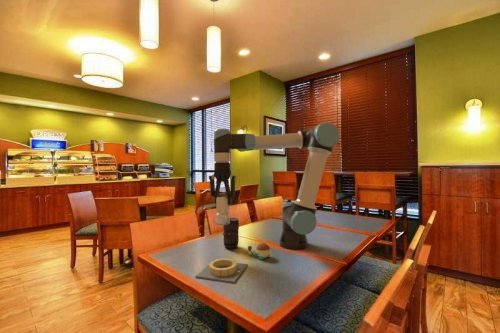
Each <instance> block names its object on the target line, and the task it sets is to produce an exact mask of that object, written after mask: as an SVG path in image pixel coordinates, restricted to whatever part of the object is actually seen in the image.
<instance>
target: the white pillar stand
mask: <svg viewBox="0 0 500 333" xmlns="http://www.w3.org/2000/svg"><path fill="white" fill-rule="evenodd" d="M226 197H227V194H226V191H225V192H224V191H223V192H221V193H220V192H219V194H217V212H215V217H216V218H215V223H216V225H217V226H223V225H228V224H230V218H231V217H230V216H231V213H230V211H229V212H226Z"/></svg>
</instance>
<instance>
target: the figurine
mask: <svg viewBox="0 0 500 333" xmlns="http://www.w3.org/2000/svg"><path fill="white" fill-rule="evenodd" d="M252 249H253V247H252V246H251V245H248V246H247V250H248V254H249V257H252V256H253V255H256V256H258V259H259V260H261V261H262V260H264V259H266V258H269V257H271V256H270V255H271V248H270V246H269V244H267V243H265V242H262V243H258V245H257V246H256V248H255V250H254V251H252Z"/></svg>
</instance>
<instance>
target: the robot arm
mask: <svg viewBox="0 0 500 333" xmlns="http://www.w3.org/2000/svg"><path fill="white" fill-rule="evenodd" d="M230 131H231V130H230V129H228V128H218V129H215V130H214V133H213V153H214V156H213V159H214V160H213V162H214V164H213V166H214V170H213V171H214V172H213V174H211V175H208V179H209V187H210V189H209V190H210V197H213V198H214V205H215V206H216V208H215V209H216V211H215V213H217V194H220V189H221V185H222V183H223V184H224V189H225V192H226V194H227V195H226V196H227V197H226V212H230V206H231V205H232V198H233V197H235V196H236V180H237V175H234V174H232V172H231V163H230V162H231V150H237V151H238V152H241V153H244V152H249V151H261V150H272V149H273V150H275V149H277V150H278V149H286V148H298V149H300V150H301V149H303V150H304V149H307V150H308V152H309V153H308V156H307V160H306V164H305V168H304V172H303V175H302V179H301V181H300V182H301V183H300V187H299V190H298V194H297V198H296V200H294V201H292V202H287V201H285V202H283V203H282V206H281V207H282V208H281V209H282V210H281V211H282V212H281V214H282V215H281V217H282V218H281V220H282V222H281V223H282V230H281V234H280V237H279V246H280V247H282V248H286V249H288V250H303V249H306V248H307V247H309V244H308V243H309V241H308V238H307V235H308V234H311V233H312V232H314V230H315V229H316V226H317V224H318V223H317V218H316V212H317V210H318V208H317V206H316V205H315V203H316V200H317V196H318V192H319V189H320V184H321V181H322V178H323V173H324V170H325V166H326V163H327V158H328V157H329V156H330V155H332V153H333V150H334V146H336V145H337V144H338V143H339V140H340V136H341V134H340V131H339V129H338V127H337V126H336V125H335V124H334V123H331V122H321V123H319V124H317V125H316V126H313V127H311V128H308V129H304V130H298V131H297V132H296V133H295V132H293V133H279V134H266V135H255V134H254V133H248V132H247V133H231V132H230ZM229 179H231V180H230V182H229ZM215 180H216V181H215Z"/></svg>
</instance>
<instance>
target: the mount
mask: <svg viewBox="0 0 500 333" xmlns="http://www.w3.org/2000/svg"><path fill="white" fill-rule="evenodd" d="M247 267H248V263H241V262H237V261H236V260H234V259H231V258H218V259H213V260H212V261H211V262H209V264H207V265H206V266H205V267H204V268H203V269H202V270H201V271H200V272H198V273H197V274H196V275H195V279H201V280H202V279H204V280H210V281H216V282H223V283H231V284H235V283H236V282H237V280H238V279H239V278H240V277H241V275H242V274H243V272H244V271H245V270H246V268H247Z"/></svg>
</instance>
